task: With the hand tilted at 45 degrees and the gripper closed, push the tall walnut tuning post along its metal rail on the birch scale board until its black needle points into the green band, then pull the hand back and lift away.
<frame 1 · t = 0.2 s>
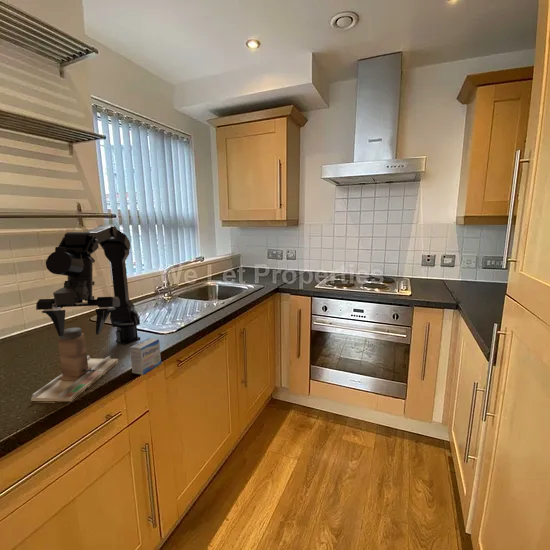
hand: (79, 335, 81), 15 cm above the worktop, tool tilted 15°, fingers open, 9 cm apart
tuning post: (78, 353, 87), point 8 cm above the worktop, slide at 0.0 cm
medicine box: (147, 369, 95), on the worktop
scale board: (76, 379, 88), on the worktop
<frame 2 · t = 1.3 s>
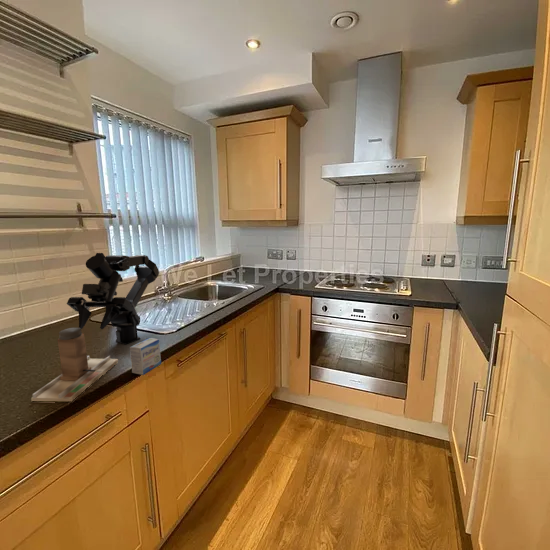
hand: (90, 328, 94), 12 cm above the worktop, tool tilted 45°, fingers open, 6 cm apart
nothing on the worktop moved.
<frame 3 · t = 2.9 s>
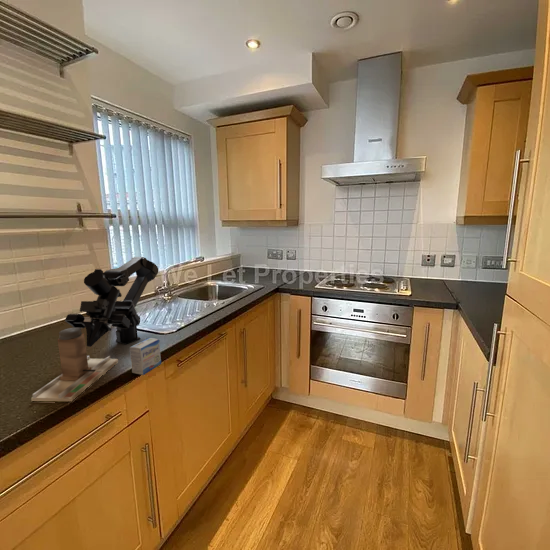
hand: (88, 346, 94), 7 cm above the worktop, tool tilted 45°, fingers closed
nothing on the worktop moved.
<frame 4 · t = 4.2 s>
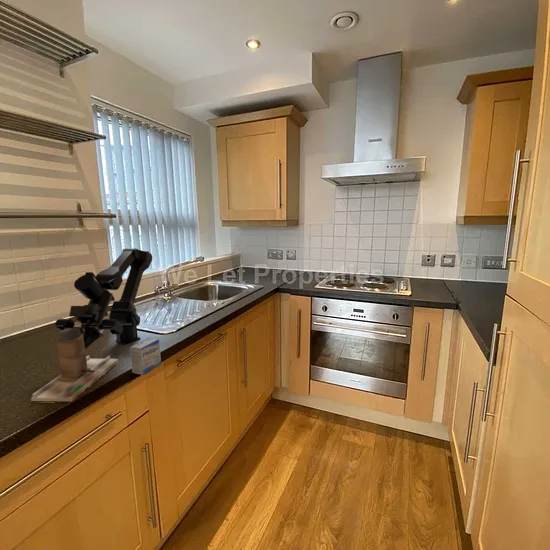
hand: (78, 353, 89), 7 cm above the worktop, tool tilted 45°, fingers closed, pressing on tuning post
tuning post: (77, 353, 86), point 8 cm above the worktop, slide at 0.4 cm, touching gripper
everything else where it was.
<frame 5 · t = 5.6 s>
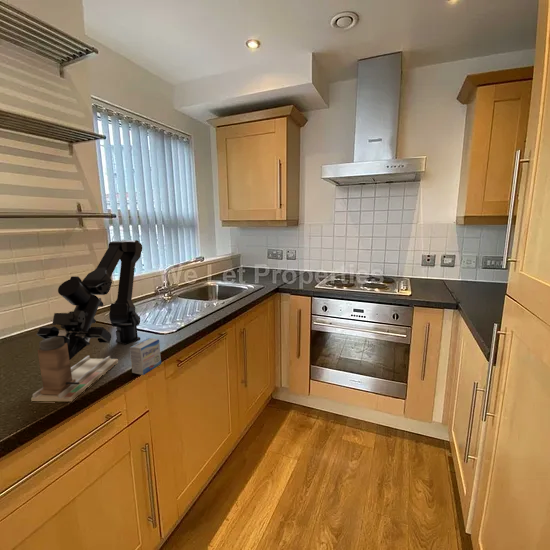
hand: (62, 363, 83), 7 cm above the worktop, tool tilted 45°, fingers closed, pressing on tuning post
tuning post: (61, 364, 80), point 8 cm above the worktop, slide at 6.9 cm, touching gripper
everything else where it was.
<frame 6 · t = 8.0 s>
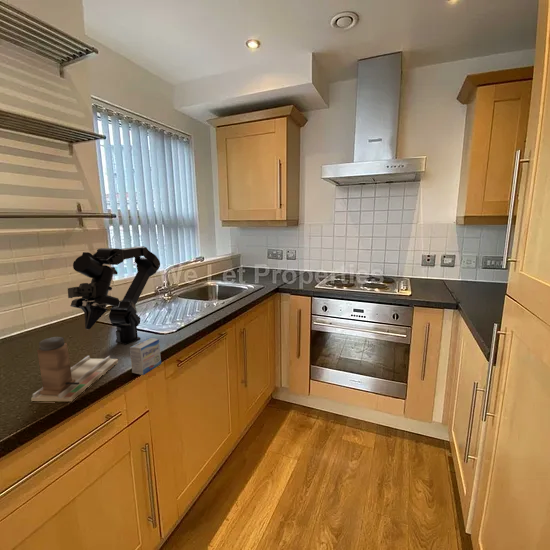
hand: (87, 329, 96), 12 cm above the worktop, tool tilted 30°, fingers closed
tuning post: (60, 364, 80), point 8 cm above the worktop, slide at 6.9 cm
everything else where it was.
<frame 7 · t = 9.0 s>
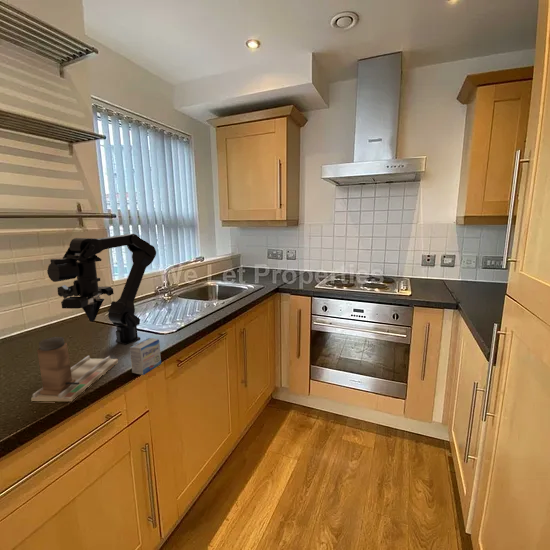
hand: (92, 321, 103), 12 cm above the worktop, tool pointing down, fingers closed
nothing on the worktop moved.
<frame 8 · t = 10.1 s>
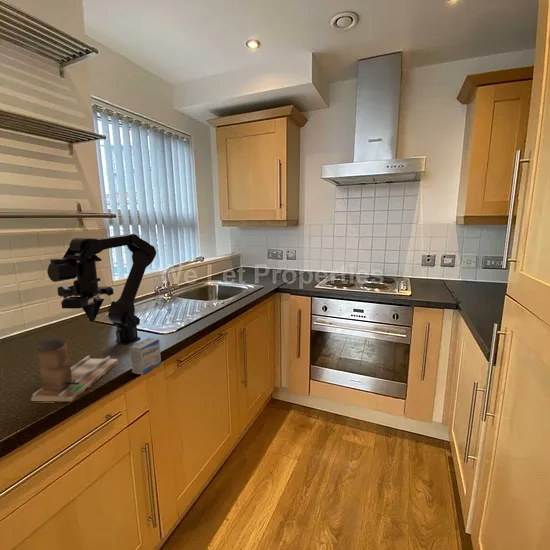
hand: (92, 321, 103), 12 cm above the worktop, tool pointing down, fingers closed
nothing on the worktop moved.
at the end: tuning post slide at 6.9 cm; the gripper is holding nothing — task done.
